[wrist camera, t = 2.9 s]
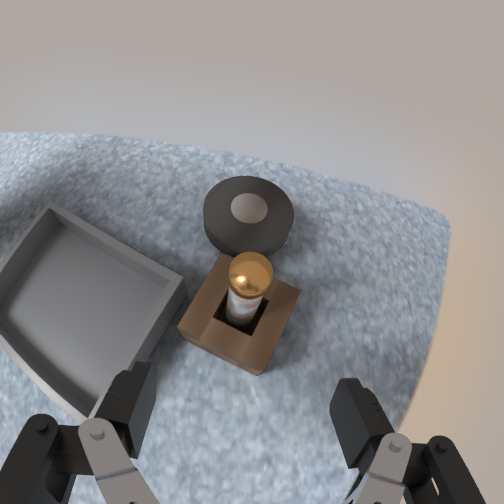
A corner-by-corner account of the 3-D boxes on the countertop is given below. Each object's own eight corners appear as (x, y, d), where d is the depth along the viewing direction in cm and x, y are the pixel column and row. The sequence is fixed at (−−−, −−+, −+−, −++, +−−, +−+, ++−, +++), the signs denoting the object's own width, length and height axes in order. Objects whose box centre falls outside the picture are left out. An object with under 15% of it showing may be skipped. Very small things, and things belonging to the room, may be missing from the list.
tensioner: (145, 316, 24) (131, 298, 20) (227, 194, 32) (230, 163, 28) (256, 375, 23) (265, 369, 19) (319, 235, 30) (333, 209, 26)
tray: (-8, 320, 21) (-27, 308, 18) (62, 218, 28) (50, 199, 25) (108, 429, 19) (91, 432, 15) (187, 293, 26) (183, 276, 23)
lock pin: (218, 327, 24) (221, 279, 15) (231, 303, 25) (241, 245, 17) (244, 339, 24) (262, 299, 15) (256, 315, 25) (279, 263, 16)
